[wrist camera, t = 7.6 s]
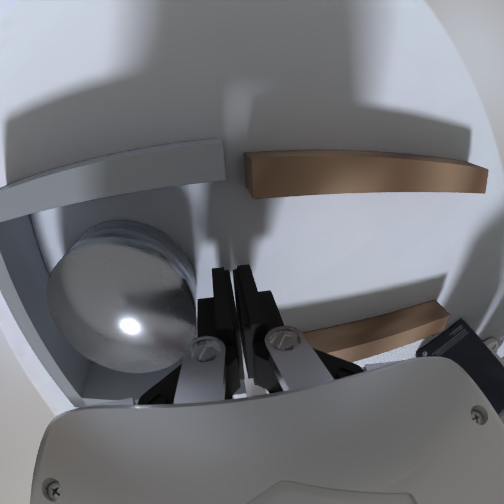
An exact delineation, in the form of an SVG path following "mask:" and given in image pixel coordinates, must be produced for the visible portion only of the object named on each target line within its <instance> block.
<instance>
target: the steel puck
mask: <svg viewBox="0 0 504 504" xmlns="http://www.w3.org/2000/svg"><path fill="white" fill-rule="evenodd" d="M47 304H48V309H49V312H50V315H51V318H52V320H53V322H54V324H55V326H56V327H57V329H58V331H59V332H60V333H61V335H62V336H63V337H64V339H65V340H66V341H67V342H68V343H69V344H70V345H71V346H72V347H73V348H74V349H76V350H77V351H78V352H79V353H81V354H82V355H83V356H85V357H86V358H88V359H90V360H91V361H93V362H95V363H97V364H99V365H102V366H104V367H107V368H110V369H113V370H117V371H122V372H130V373H147V372H153V371H158V370H161V369H164V368H167V367H169V366H171V365H173V364H174V363H176V362H177V361H179V360H180V359H181V358H182V357H183V356H184V353H185V349H186V347H187V345H188V344H189V343H190V342H191V341H193V340H194V337H195V331H196V278H195V274H194V270H193V267H192V265H191V263H190V261H189V259H188V257H187V256H186V254H185V253H184V251H183V250H182V249H181V248H180V247H179V245H178V244H177V243H176V242H174V241H173V240H172V239H171V238H170V237H169V236H167V235H166V234H165V233H163V232H161V231H160V230H158V229H156V228H154V227H152V226H149V225H147V224H144V223H140V222H137V221H130V220H113V221H108V222H104V223H101V224H98V225H96V226H94V227H92V228H91V229H89V230H88V231H86V232H85V233H84V234H83V235H82V236H81V237H80V238H79V239H78V241H77V242H76V243H75V244H74V245H73V246H72V247H71V248H70V249H69V251H68V252H67V253H66V254H65V255H64V256H63V258H62V259H61V260H60V261H59V262H58V264H57V265H56V266H55V268H54V269H53V271H52V273H51V275H50V277H49V280H48V284H47Z"/></svg>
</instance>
